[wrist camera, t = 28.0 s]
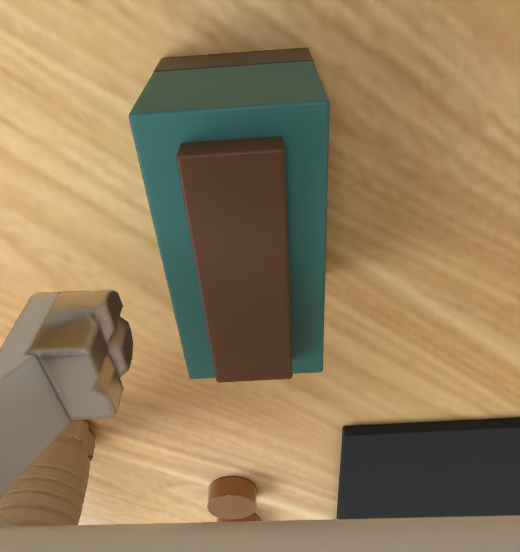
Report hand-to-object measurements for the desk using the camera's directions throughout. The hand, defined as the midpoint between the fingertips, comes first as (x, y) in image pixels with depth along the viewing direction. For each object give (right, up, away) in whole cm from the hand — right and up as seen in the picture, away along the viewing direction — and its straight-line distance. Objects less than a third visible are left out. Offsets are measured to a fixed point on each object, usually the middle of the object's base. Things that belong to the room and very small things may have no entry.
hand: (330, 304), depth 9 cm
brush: (-2, +4, +8) cm, 9 cm away
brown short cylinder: (-3, -13, +21) cm, 25 cm away
